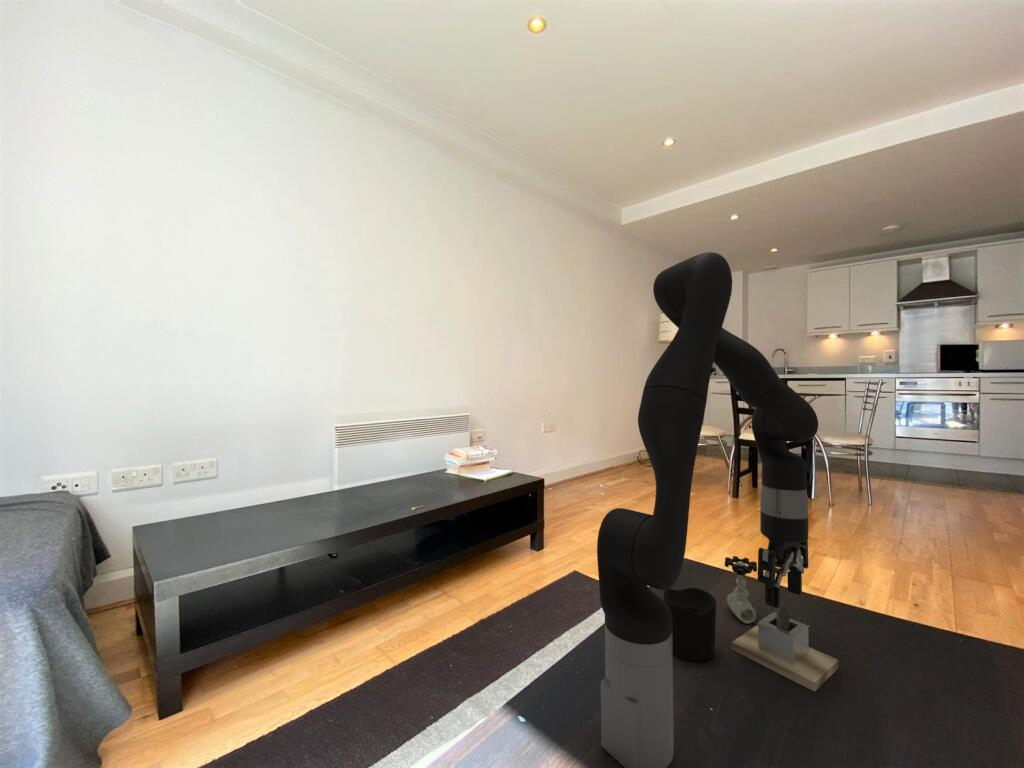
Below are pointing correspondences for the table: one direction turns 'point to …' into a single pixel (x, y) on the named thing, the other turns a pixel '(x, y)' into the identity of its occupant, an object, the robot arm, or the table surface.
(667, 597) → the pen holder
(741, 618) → the valve
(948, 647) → the table surface
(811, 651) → the shaft stand
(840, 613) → the table surface
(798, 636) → the block
